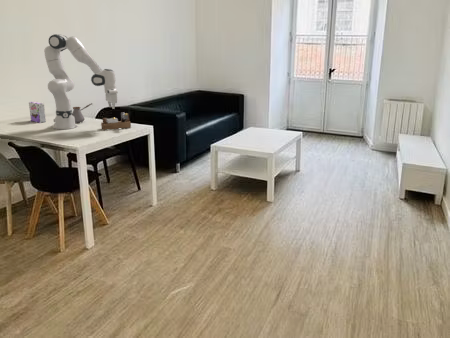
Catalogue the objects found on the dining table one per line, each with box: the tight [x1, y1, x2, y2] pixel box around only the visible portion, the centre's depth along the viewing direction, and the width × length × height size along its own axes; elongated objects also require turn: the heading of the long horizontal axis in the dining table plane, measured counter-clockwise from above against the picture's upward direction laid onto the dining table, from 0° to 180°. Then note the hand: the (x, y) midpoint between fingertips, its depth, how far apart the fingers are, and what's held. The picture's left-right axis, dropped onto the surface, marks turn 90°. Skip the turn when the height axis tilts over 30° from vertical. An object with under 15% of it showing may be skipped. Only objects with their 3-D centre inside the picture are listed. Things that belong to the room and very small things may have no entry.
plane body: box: [100, 113, 132, 131], centre depth 330 cm, size 7×22×11 cm, turn 120°
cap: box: [106, 117, 119, 123], centre depth 328 cm, size 4×8×4 cm, turn 121°
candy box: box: [28, 100, 47, 124], centre depth 348 cm, size 14×6×16 cm, turn 55°
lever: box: [120, 111, 128, 122], centre depth 327 cm, size 3×12×8 cm, turn 28°
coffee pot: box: [72, 102, 93, 124], centre depth 352 cm, size 21×12×15 cm, turn 138°
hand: (111, 107), depth 325 cm, fingers open, 8 cm apart
